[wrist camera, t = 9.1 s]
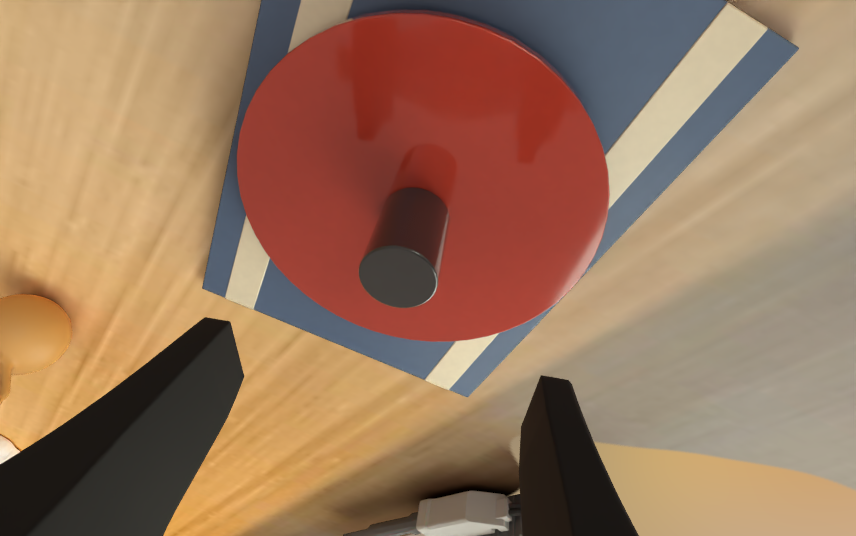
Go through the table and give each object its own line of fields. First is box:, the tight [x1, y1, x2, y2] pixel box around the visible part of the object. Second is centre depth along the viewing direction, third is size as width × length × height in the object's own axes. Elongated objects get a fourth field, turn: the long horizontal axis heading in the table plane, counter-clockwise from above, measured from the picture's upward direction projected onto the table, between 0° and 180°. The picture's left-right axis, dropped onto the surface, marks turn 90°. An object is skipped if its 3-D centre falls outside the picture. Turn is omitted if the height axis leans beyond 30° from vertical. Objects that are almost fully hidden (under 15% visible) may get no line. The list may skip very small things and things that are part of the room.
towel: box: [202, 0, 799, 397], centre depth 18 cm, size 14×19×1 cm
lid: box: [237, 10, 610, 342], centre depth 16 cm, size 13×13×4 cm
